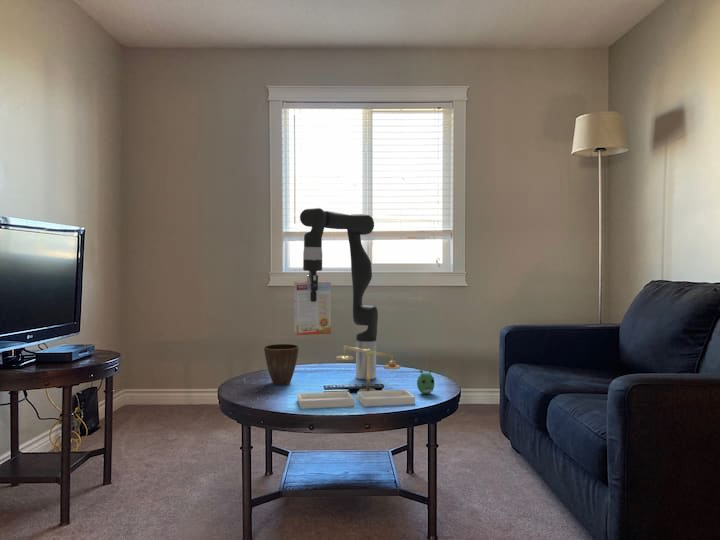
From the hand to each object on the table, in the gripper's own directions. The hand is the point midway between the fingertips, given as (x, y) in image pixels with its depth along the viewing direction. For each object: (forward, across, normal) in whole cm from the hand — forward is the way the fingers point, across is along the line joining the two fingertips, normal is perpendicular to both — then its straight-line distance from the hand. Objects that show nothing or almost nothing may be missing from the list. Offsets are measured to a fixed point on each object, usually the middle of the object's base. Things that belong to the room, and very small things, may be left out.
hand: (312, 300), depth 207 cm
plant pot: (+38, -21, -11) cm, 45 cm away
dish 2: (+37, +15, +26) cm, 48 cm away
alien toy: (+38, +7, +45) cm, 59 cm away
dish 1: (+37, +14, +3) cm, 40 cm away
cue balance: (+37, +3, +22) cm, 44 cm away
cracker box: (+13, 0, 0) cm, 13 cm away
